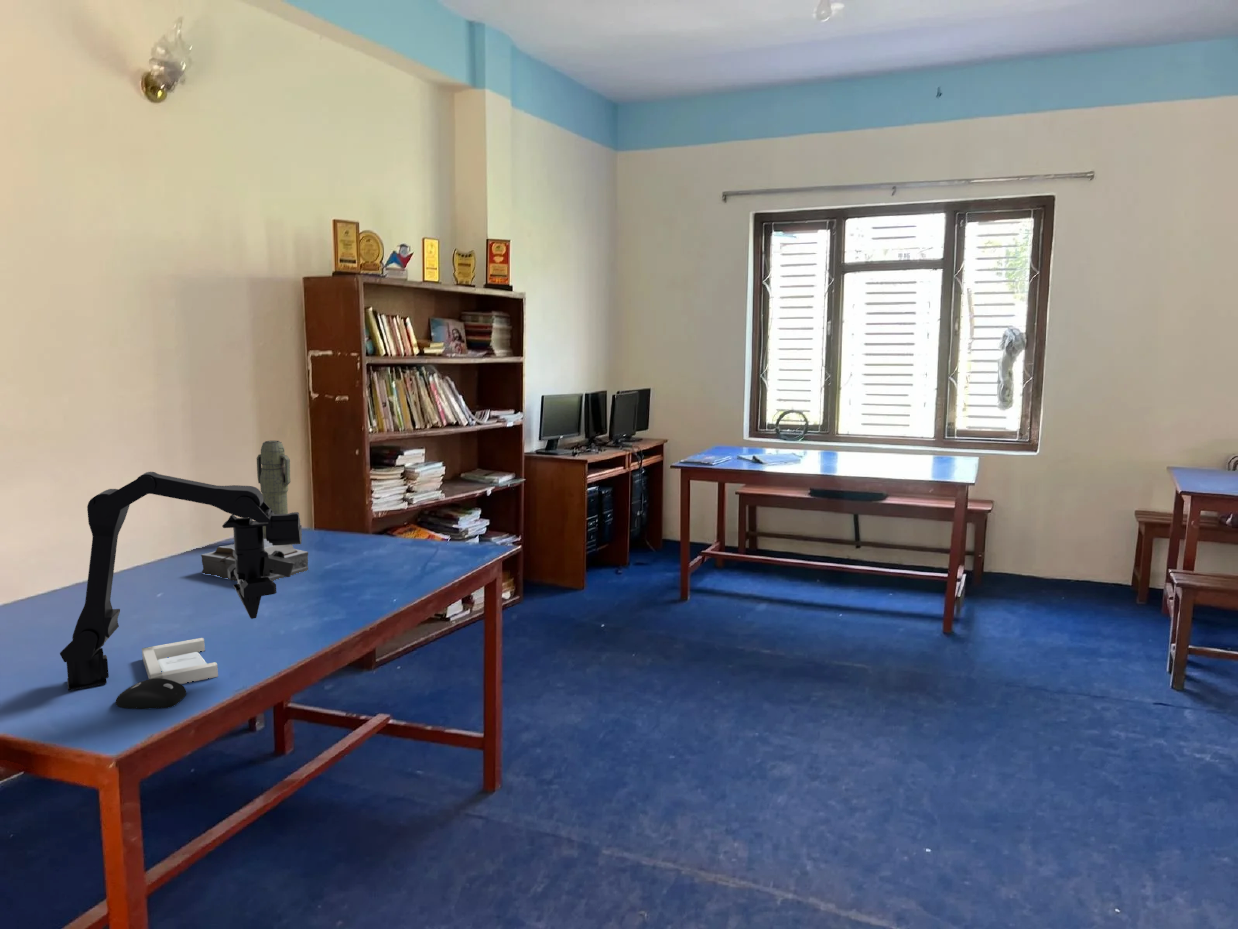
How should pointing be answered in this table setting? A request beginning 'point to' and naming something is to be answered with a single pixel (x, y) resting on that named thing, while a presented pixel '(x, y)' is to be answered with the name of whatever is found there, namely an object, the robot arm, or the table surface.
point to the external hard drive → (181, 661)
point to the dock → (178, 649)
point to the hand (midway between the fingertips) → (253, 618)
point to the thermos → (274, 476)
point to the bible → (224, 554)
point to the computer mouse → (151, 694)
